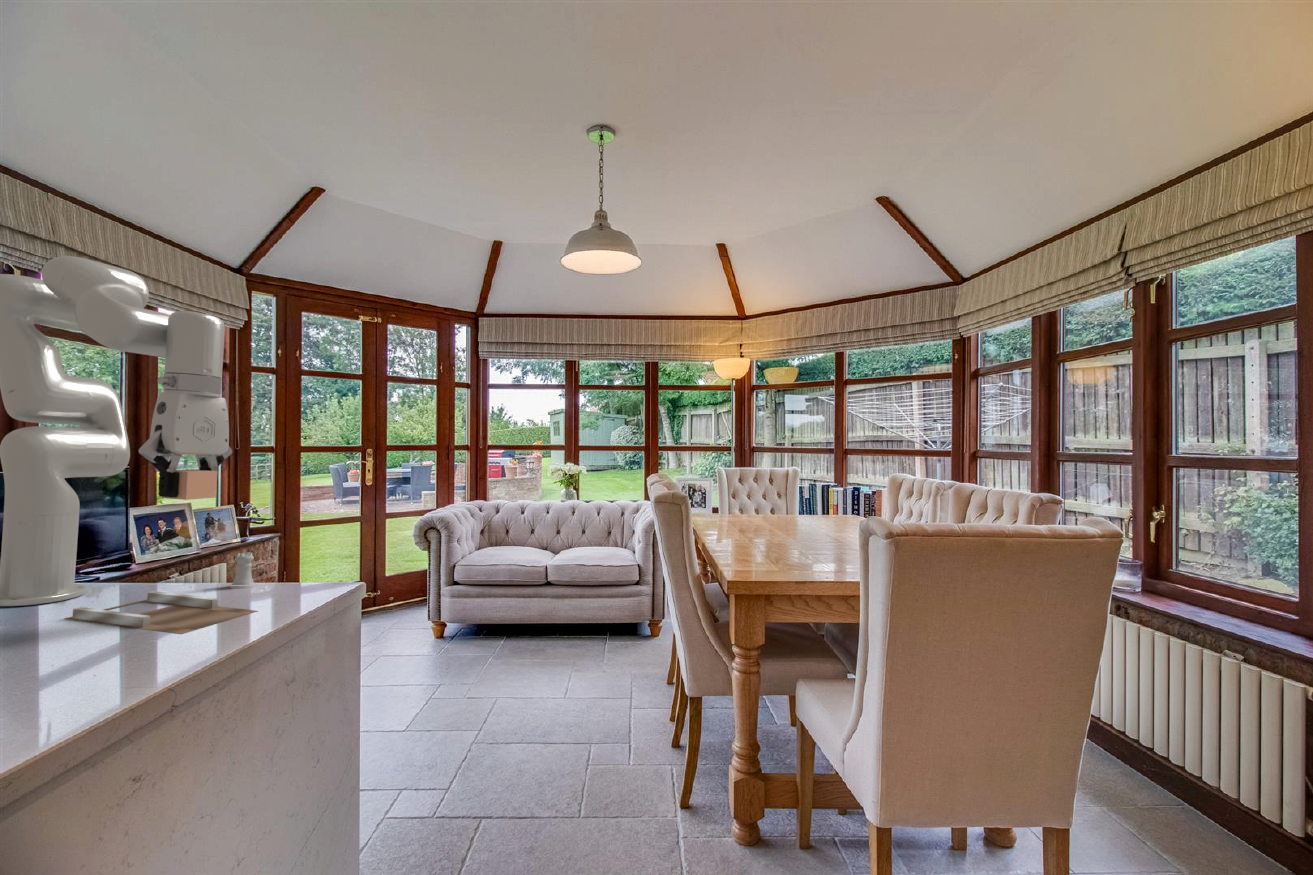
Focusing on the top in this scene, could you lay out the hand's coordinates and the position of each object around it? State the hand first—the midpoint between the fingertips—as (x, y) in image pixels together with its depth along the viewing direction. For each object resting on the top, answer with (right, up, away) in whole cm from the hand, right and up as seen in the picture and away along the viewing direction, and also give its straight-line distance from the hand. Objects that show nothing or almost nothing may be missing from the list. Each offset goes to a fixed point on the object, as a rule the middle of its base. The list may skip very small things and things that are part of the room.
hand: (186, 494), depth 95 cm
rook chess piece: (-4, -22, +18) cm, 29 cm away
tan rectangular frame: (-2, -21, -1) cm, 21 cm away
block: (+1, -1, 0) cm, 1 cm away
